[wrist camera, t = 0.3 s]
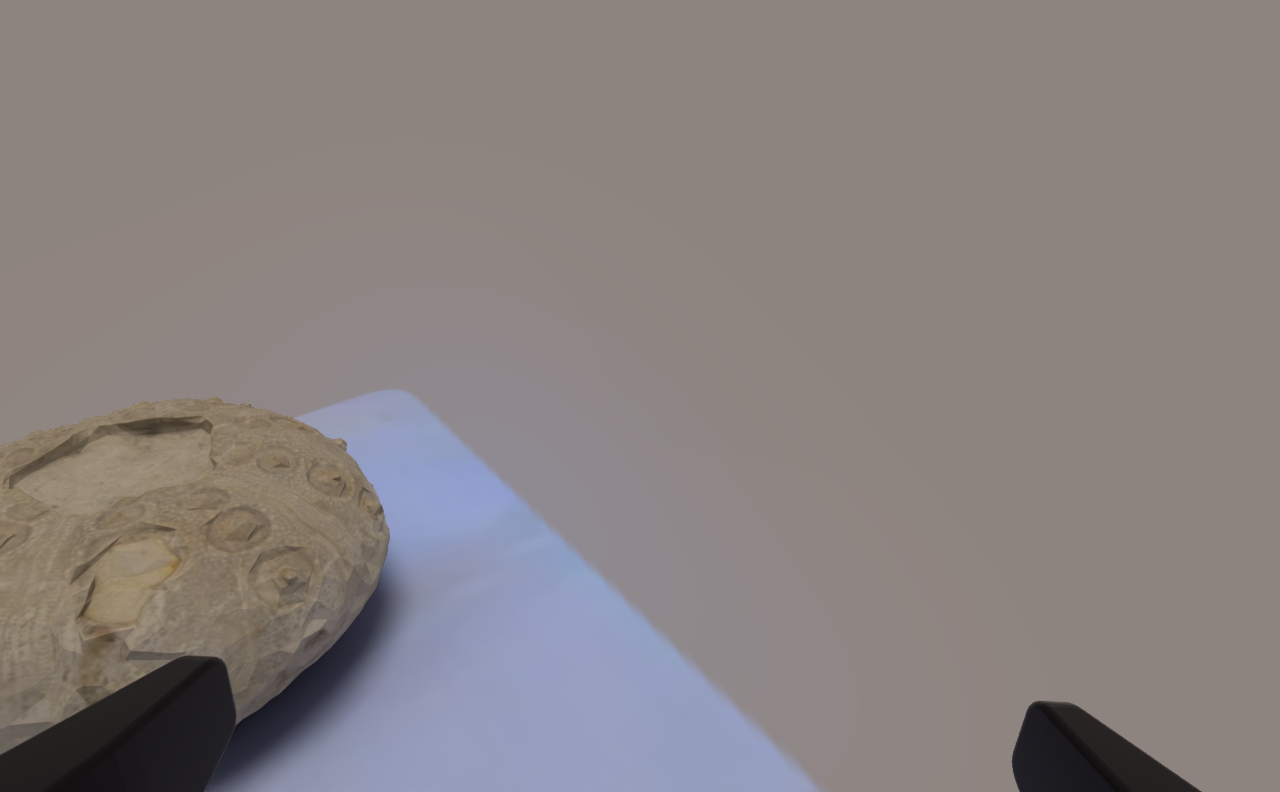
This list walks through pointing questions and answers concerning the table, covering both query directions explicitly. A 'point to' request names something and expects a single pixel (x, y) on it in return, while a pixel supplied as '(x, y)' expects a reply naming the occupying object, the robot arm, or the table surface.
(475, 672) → the table surface
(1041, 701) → the robot arm
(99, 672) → the beige carved stone
